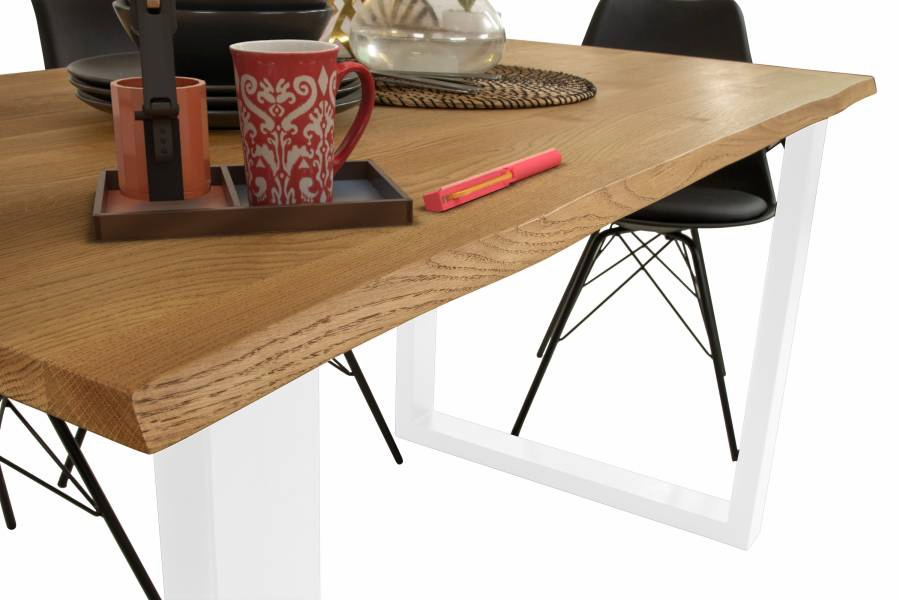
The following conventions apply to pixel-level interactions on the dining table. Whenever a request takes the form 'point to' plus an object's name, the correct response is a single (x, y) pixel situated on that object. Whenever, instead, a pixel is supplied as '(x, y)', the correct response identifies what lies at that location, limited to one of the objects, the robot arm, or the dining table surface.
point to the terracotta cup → (133, 142)
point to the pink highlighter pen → (490, 181)
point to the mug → (294, 118)
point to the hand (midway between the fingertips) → (165, 187)
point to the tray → (250, 207)
